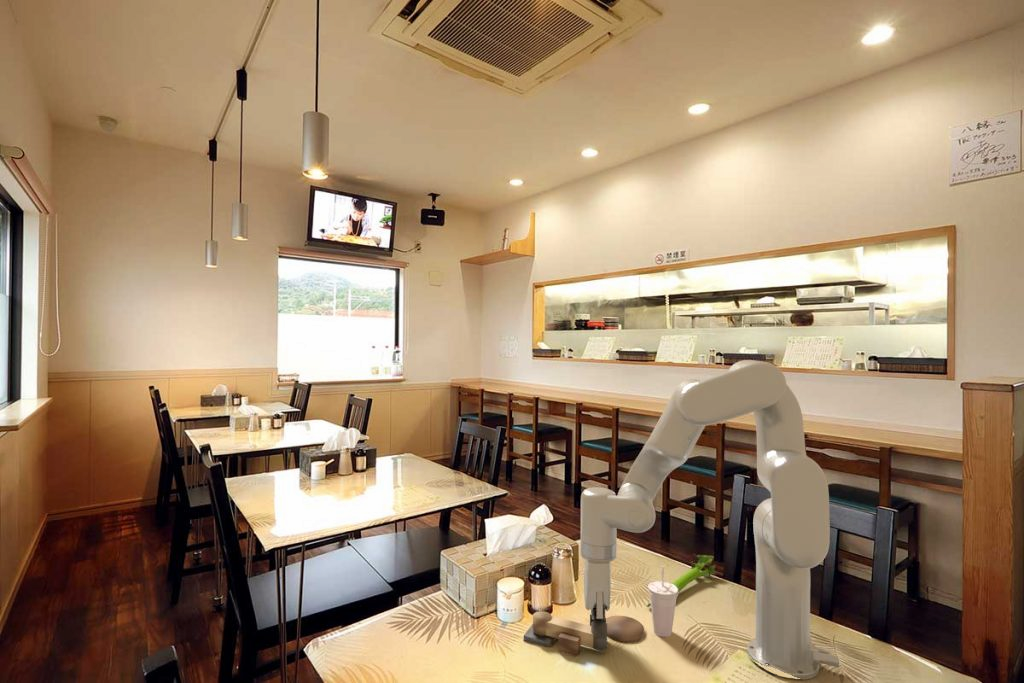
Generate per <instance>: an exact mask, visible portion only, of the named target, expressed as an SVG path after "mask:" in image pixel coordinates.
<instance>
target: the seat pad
mask: <svg viewBox="0 0 1024 683" xmlns="http://www.w3.org/2000/svg"><path fill="white" fill-rule="evenodd" d="M605 618H606V623H607V638H610V639H611V640H614V641H618V642H623V643H632V642H637V641H639V640H642V638H643V637H644V636H645V627H644V625H643V624H642V623H641V622H640V621H639V620H637V619H635V618H633V617H630V616H626V615H612V616H608V617H605Z"/></svg>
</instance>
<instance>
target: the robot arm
mask: <svg viewBox="0 0 1024 683" xmlns="http://www.w3.org/2000/svg"><path fill="white" fill-rule="evenodd" d="M801 409H802V408H801V406H800V403H799V401H798V399H797V397H796V395H795V394H794V392H793V390H792V389H791V388H790V386H789V385H788V384H787V379H786V376H785V375H784V373H783V371H782V370H781V369H780V368H779V367H778V366H776V365H774V364H773V363H770V362H767V361H762V360H754V359H743V360H739V361H737V362H734V364H732V365H731V366H730V367H729V369H728V370H727V372H725V373H722V374H720V375H716V376H712V377H709V378H706V379H702V380H701V379H697V378H695V379H693V378H691V379H687V380H684V381H682V382H680V384H678V385H677V387H676V388H675V390H674V391H673V393H672V395H671V397H670V398H669V400H668V402H667V404H666V405H665V408H664V409H663V412H662V413H661V416H660V417H659V420H658V421H657V423H656V424H655V427H654V428H653V431H652V432H651V434H650V436H649V437H648V440H646V442H645V444H644V445H643V446H642V449H641V451H640V452H639V454H638V456H636V458H635V460H634V462H633V464H632V465H631V467H630V469H629V471H628V472H627V474H626V476H625V478H624V480H623V482H622V484H621V485H620V488H619V490H618V492H617V495H616V493H615V492H614V491H613V490H611V489H609V488H606V487H599V486H598V487H597V486H596V487H595V486H594V487H593V486H592V487H588V488H584V490H583V491H582V492H581V495H580V549H579V550H580V553H579V555H580V557H581V558H583V559H584V570H583V571H584V572H583V573H584V574H583V575H584V576H583V577H584V581H583V582H584V583H583V584H584V585H583V596H584V606H585V609H586V610H587V611H590V614H589V626H591V622H592V621H594V620H602V621H604V622H606V618H607V617H606V612H609V611H610V605H611V586H612V585H611V583H612V580H611V579H612V578H611V577H612V575H611V574H612V570H611V568H612V566H611V565H612V564H611V563H612V562H613V561H615V560H616V559H617V539H618V538H617V534H618V533H617V529H619V530H622V531H625V532H626V531H627V532H631V533H639V534H640V533H645V532H647V531H649V530H650V529H651V528H652V527H653V526H654V524H655V521H656V510H655V507H654V503H653V501H654V499H655V498H656V496H657V494H658V492H659V490H660V488H661V486H662V484H664V481H665V480H666V479H667V477H668V476H669V475H670V473H672V472H673V471H674V470H675V469H677V468H679V467H681V466H682V465H684V464H685V463H686V461H688V459H689V457H690V456H691V453H692V451H693V450H694V447H695V446H696V444H697V441H698V440H699V439H700V436H701V435H702V432H703V431H704V430H705V428H706V426H713V425H716V424H720V423H722V422H727V421H730V420H733V419H737V418H739V417H742V416H746V415H748V414H751V413H753V417H754V422H755V430H756V431H755V432H756V473H757V474H756V475H757V477H758V480H759V482H760V483H761V484H762V485H763V486H764V487H765V488H766V490H768V492H770V498H766V499H765V500H762V502H761V503H759V504H758V506H757V507H756V508H755V511H754V513H753V520H752V521H753V522H752V524H753V535H754V536H753V537H754V546H755V547H754V548H755V562H756V563H755V638H753V639H751V640H750V641H749V642H748V643H747V645H746V646H747V650H746V652H747V655H748V657H749V656H750V657H751V658H752V659H753V660H755V661H756V662H758V663H760V664H761V665H764V666H766V667H767V666H768V667H769V666H770V667H773V668H775V669H778V670H780V671H782V672H784V673H787V674H790V675H792V676H794V677H797V678H800V679H803V680H810V679H813V678H815V677H816V676H818V674H819V672H820V664H824V665H827V666H830V667H835V668H839V667H840V662H839V656H838V655H835V654H830V649H829V648H825V647H823V646H822V647H820V646H816V645H815V643H814V644H813V643H812V642H813V641H812V637H811V569H813V568H815V567H817V566H818V565H820V564H821V563H822V562H823V561H824V559H825V558H826V557H827V555H828V552H829V548H830V538H831V536H830V535H831V527H830V526H831V525H830V520H831V519H830V493H829V485H828V481H827V478H826V475H825V473H824V470H823V469H822V468H821V467H820V465H819V464H818V463H817V462H816V461H815V460H813V458H810V457H809V456H808V455H807V453H806V452H807V451H806V442H805V440H806V439H805V430H804V429H805V428H804V418H803V413H802V412H803V411H802V410H801ZM750 657H749V658H750ZM766 664H768V665H766Z"/></svg>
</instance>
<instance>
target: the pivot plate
mask: <svg viewBox="0 0 1024 683" xmlns="http://www.w3.org/2000/svg"><path fill="white" fill-rule="evenodd" d="M556 640H557V638H554V637H550V636H546V635H545V636H541V635H537V634H535V633H534V632H533V623H532V624H531V625H530V626H529V628H528V629H527V630H526V632H525V633H524V634H523V641H524V642H525V641H526V642H529V643H533V644H537V645H540V646H543V647H547V648H552V645H554V642H556Z"/></svg>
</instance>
